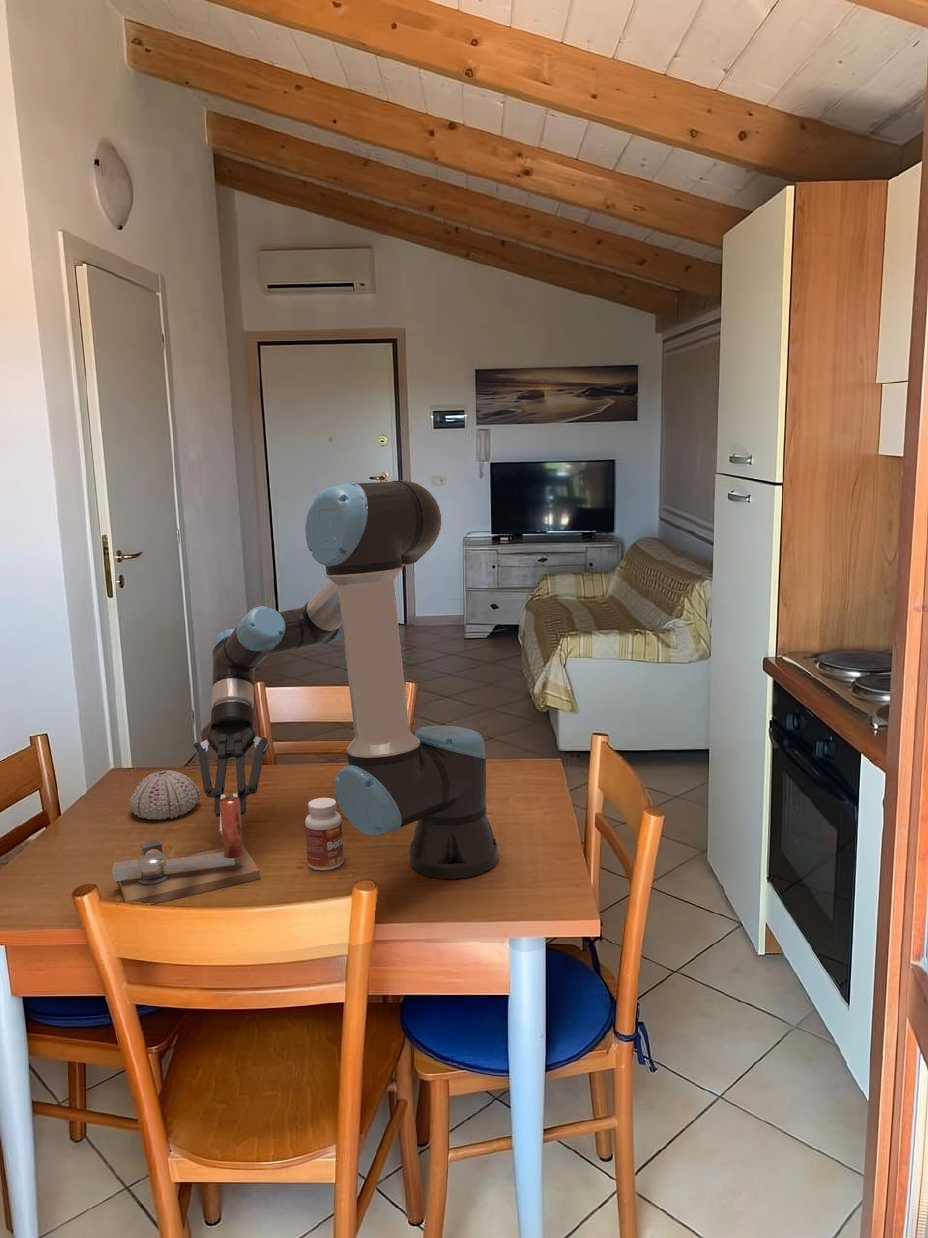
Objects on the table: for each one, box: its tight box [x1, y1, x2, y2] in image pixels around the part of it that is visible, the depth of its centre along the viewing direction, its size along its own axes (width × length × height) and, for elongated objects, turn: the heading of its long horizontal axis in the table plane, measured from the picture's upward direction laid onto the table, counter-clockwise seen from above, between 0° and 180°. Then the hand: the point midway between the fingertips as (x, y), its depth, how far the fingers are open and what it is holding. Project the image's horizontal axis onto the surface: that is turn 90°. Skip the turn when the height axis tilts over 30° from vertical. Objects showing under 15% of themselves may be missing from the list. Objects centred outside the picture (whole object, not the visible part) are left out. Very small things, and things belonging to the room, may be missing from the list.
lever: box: [111, 796, 244, 882], centre depth 153 cm, size 21×4×11 cm, turn 104°
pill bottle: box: [304, 797, 345, 871], centre depth 159 cm, size 6×6×11 cm
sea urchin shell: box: [128, 769, 201, 821], centre depth 185 cm, size 13×14×8 cm
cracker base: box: [118, 838, 261, 904], centre depth 157 cm, size 21×14×4 cm
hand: (229, 833), depth 158 cm, fingers closed
